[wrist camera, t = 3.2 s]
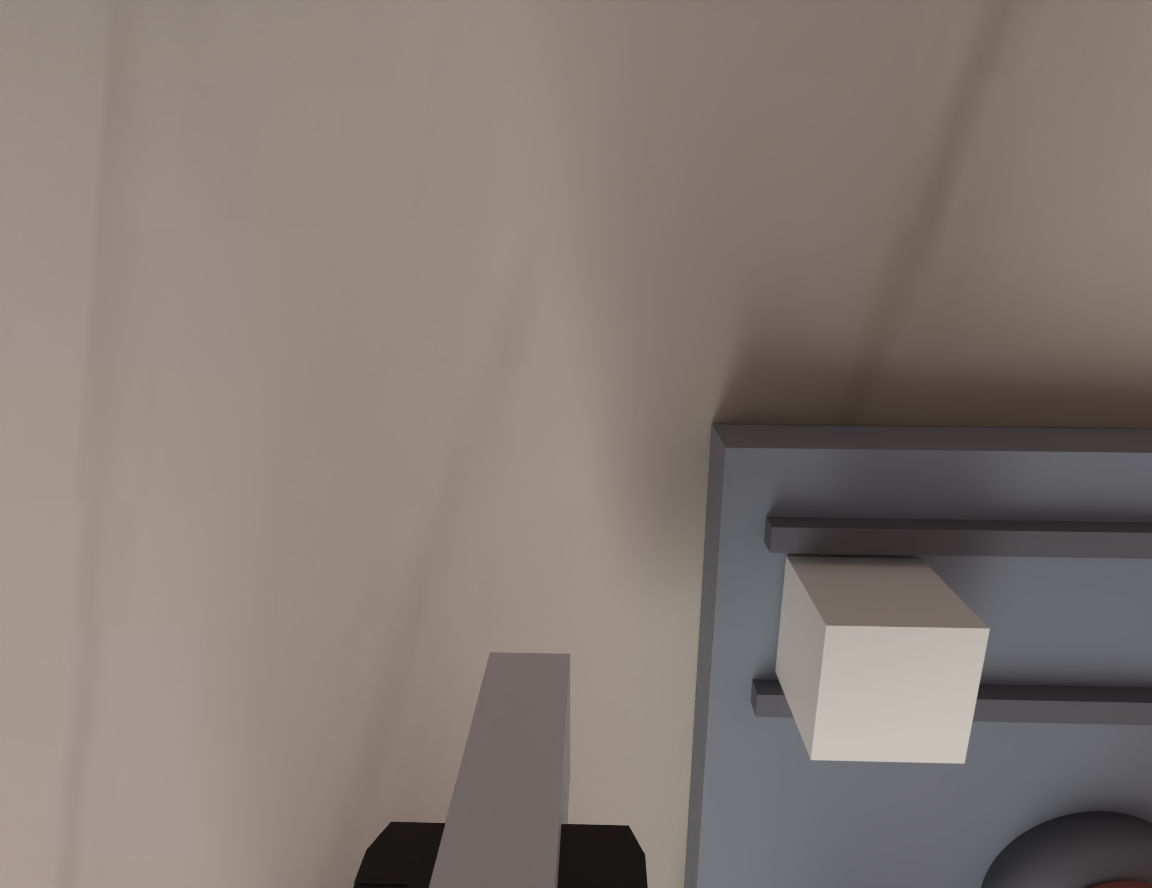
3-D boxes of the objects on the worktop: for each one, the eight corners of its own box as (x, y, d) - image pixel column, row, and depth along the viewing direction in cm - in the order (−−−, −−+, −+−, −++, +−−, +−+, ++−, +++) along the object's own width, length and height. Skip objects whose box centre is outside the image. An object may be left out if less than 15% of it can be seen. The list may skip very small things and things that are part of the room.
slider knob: (786, 556, 16) (826, 625, 13) (920, 557, 16) (990, 628, 13) (775, 671, 17) (810, 760, 14) (902, 674, 17) (964, 764, 14)
